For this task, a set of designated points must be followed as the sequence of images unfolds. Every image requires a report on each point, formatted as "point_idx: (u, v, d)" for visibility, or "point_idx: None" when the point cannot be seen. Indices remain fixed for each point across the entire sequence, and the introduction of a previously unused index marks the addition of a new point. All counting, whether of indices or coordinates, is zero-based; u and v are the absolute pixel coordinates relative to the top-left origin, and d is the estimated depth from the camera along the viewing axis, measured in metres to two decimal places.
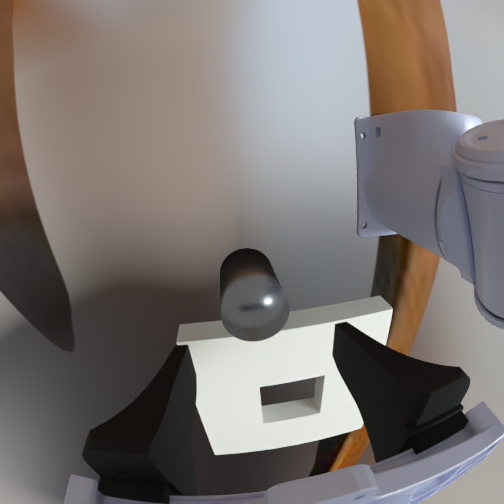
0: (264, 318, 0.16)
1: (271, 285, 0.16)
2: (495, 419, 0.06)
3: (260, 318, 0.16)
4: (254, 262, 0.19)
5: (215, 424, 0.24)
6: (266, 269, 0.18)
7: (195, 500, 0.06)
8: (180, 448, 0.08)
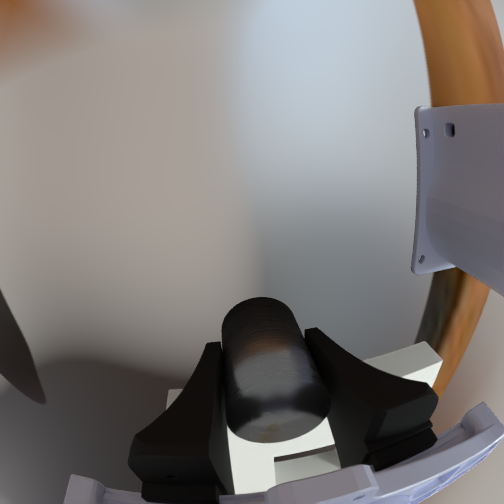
0: (293, 419, 0.09)
1: (308, 381, 0.09)
2: (495, 419, 0.06)
3: (286, 419, 0.09)
4: (275, 328, 0.12)
5: None
6: (294, 341, 0.11)
7: None
8: (223, 446, 0.08)
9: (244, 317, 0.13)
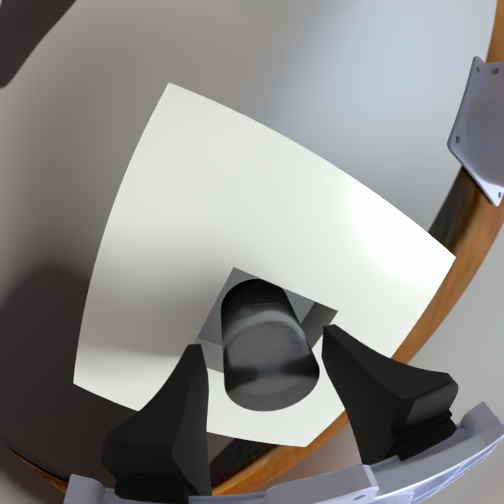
0: (285, 386, 0.11)
1: (298, 346, 0.10)
2: (495, 419, 0.06)
3: (279, 386, 0.11)
4: (269, 304, 0.13)
5: (105, 315, 0.13)
6: (287, 315, 0.13)
7: (195, 500, 0.06)
8: (197, 448, 0.08)
9: (242, 295, 0.14)
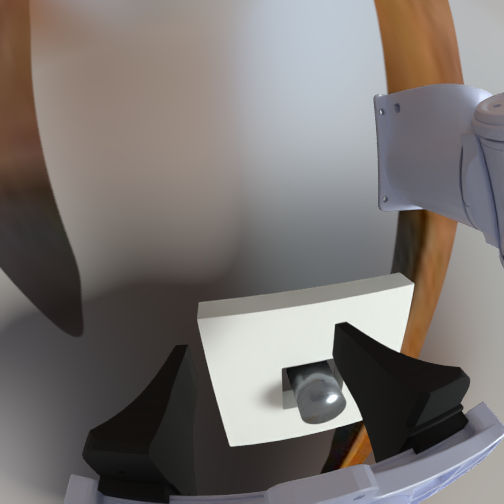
0: (331, 409, 0.20)
1: (325, 395, 0.20)
2: (495, 419, 0.06)
3: (328, 410, 0.20)
4: (308, 372, 0.23)
5: (233, 412, 0.24)
6: (318, 375, 0.22)
7: (195, 500, 0.06)
8: (180, 448, 0.08)
9: (294, 370, 0.24)
